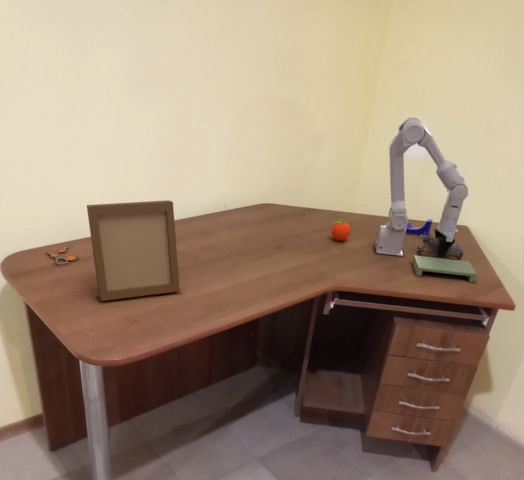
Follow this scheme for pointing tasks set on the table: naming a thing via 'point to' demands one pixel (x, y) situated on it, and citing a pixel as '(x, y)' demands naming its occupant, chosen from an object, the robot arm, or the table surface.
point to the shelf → (443, 266)
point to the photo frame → (134, 248)
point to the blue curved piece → (420, 228)
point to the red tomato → (340, 231)
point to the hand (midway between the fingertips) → (439, 253)
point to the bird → (433, 246)
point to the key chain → (69, 258)
